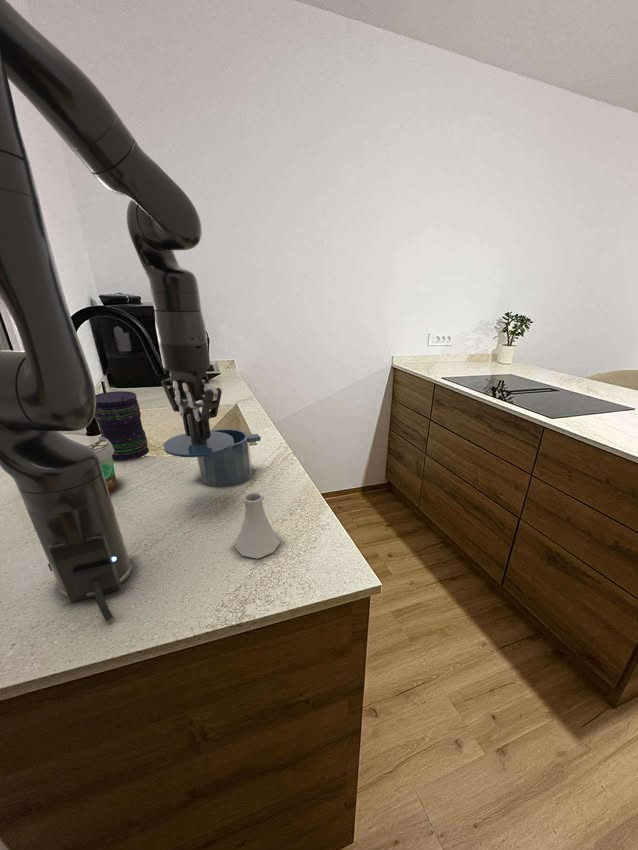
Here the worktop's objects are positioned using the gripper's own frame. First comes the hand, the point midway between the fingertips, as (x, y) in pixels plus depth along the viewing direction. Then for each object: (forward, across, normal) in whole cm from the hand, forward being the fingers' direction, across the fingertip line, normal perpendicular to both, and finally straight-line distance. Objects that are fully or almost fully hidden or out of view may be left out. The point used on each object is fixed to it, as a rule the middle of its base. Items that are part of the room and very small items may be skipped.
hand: (198, 436), depth 72 cm
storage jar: (+15, -38, +6) cm, 41 cm away
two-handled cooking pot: (+15, -8, +11) cm, 20 cm away
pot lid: (+2, 0, 0) cm, 2 cm away
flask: (+15, +18, -4) cm, 24 cm away
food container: (+15, -23, -9) cm, 29 cm away
